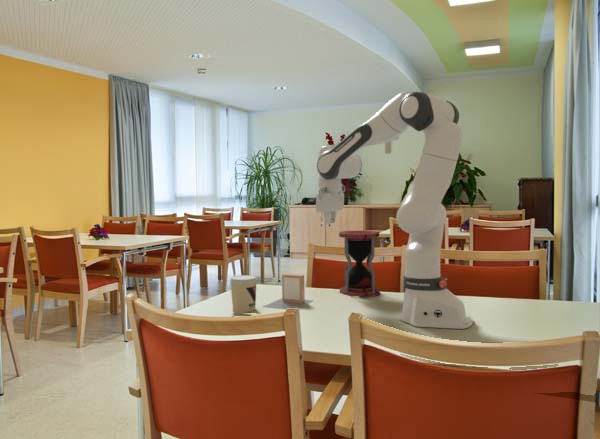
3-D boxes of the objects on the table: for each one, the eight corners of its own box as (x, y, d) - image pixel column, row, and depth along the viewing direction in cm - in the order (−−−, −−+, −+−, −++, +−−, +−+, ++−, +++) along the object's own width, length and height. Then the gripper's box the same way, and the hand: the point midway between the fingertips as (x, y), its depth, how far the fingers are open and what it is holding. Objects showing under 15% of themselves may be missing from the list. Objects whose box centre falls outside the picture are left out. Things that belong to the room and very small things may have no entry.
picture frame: (304, 301, 190) (304, 274, 189) (301, 303, 187) (301, 276, 187) (285, 299, 193) (285, 273, 193) (282, 301, 191) (281, 274, 190)
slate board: (313, 302, 191) (313, 300, 191) (294, 312, 177) (294, 310, 177) (283, 299, 197) (283, 297, 197) (262, 308, 183) (262, 306, 182)
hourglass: (361, 299, 195) (360, 234, 193) (331, 293, 207) (330, 232, 205) (387, 293, 206) (387, 231, 204) (357, 287, 218) (357, 229, 216)
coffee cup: (253, 314, 174) (252, 280, 174) (227, 313, 176) (226, 279, 176) (260, 308, 184) (259, 275, 183) (235, 307, 186) (235, 274, 185)
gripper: (327, 187, 187) (327, 225, 187) (346, 187, 205) (347, 221, 206) (311, 187, 189) (311, 225, 190) (332, 187, 208) (332, 221, 209)
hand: (330, 223), depth 198 cm, fingers open, 3 cm apart
